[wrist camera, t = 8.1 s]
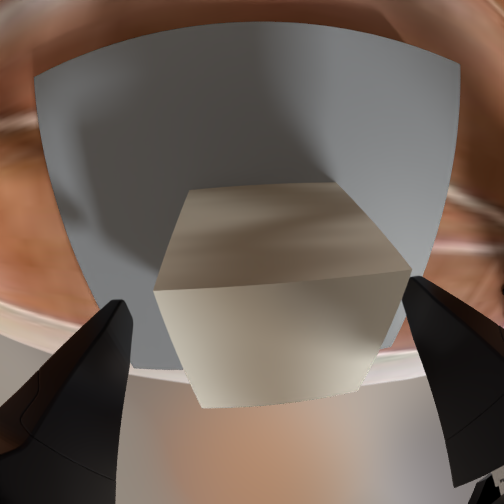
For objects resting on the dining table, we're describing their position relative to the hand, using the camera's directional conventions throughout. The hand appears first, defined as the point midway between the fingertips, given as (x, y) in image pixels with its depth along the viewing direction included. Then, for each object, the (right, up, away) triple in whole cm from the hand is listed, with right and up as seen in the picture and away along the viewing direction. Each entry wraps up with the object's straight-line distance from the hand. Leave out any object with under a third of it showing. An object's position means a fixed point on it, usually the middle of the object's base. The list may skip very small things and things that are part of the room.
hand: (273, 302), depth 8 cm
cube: (0, +2, +2) cm, 3 cm away
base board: (0, +3, +5) cm, 6 cm away
